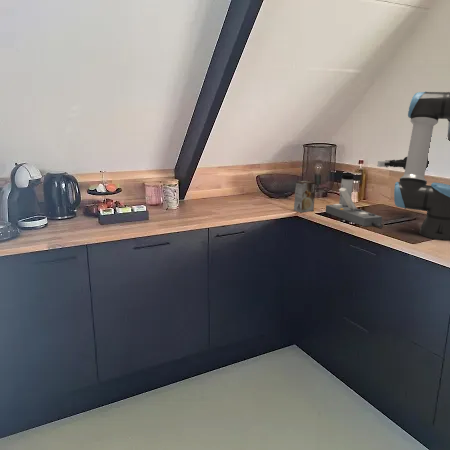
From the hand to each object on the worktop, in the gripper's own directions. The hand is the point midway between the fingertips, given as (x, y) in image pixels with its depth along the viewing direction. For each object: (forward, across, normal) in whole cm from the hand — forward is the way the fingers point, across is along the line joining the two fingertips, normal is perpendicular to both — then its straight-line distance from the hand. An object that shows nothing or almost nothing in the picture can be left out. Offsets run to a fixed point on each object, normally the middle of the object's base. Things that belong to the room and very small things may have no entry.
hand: (378, 163), depth 217 cm
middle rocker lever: (+13, 0, -23) cm, 26 cm away
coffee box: (+28, +22, -28) cm, 46 cm away
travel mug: (0, +22, -28) cm, 36 cm away
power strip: (+13, -3, -28) cm, 31 cm away
